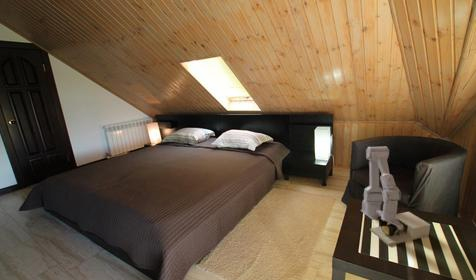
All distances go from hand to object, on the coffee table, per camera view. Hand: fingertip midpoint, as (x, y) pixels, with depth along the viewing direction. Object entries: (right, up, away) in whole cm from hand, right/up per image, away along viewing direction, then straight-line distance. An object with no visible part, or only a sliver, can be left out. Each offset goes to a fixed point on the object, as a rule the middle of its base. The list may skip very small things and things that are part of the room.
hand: (387, 232), depth 115 cm
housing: (+7, -1, +2) cm, 7 cm away
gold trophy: (+5, 0, +1) cm, 5 cm away
